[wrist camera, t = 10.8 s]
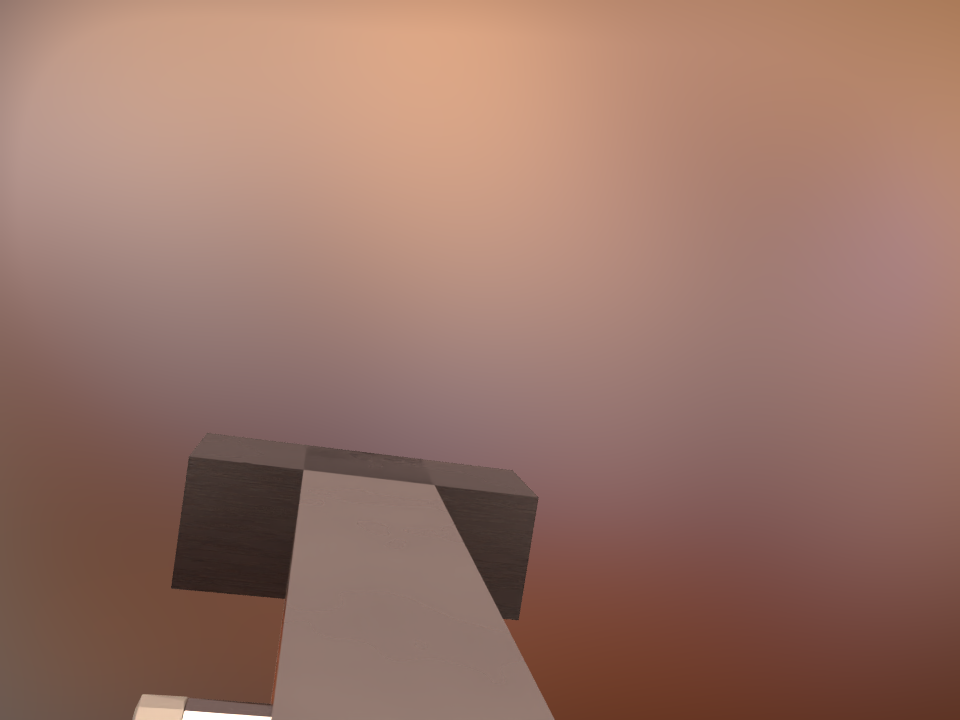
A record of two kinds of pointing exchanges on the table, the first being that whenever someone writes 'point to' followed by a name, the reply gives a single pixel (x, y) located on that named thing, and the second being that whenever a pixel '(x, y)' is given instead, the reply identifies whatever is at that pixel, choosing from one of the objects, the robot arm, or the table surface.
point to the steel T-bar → (369, 576)
